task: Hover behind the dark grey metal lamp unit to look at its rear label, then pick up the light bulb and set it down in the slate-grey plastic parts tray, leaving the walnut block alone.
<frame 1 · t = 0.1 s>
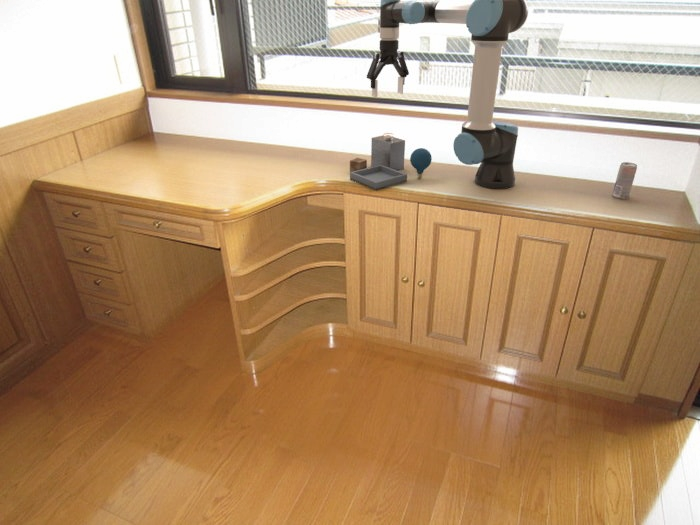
hand: (387, 95, 205), 28 cm above the table, fingers open, 13 cm apart
unit: (387, 167, 209), on the table
walnut block: (358, 171, 204), on the table
light bulb: (419, 178, 196), on the table
tray: (378, 180, 194), on the table
energy drink: (620, 197, 177), on the table
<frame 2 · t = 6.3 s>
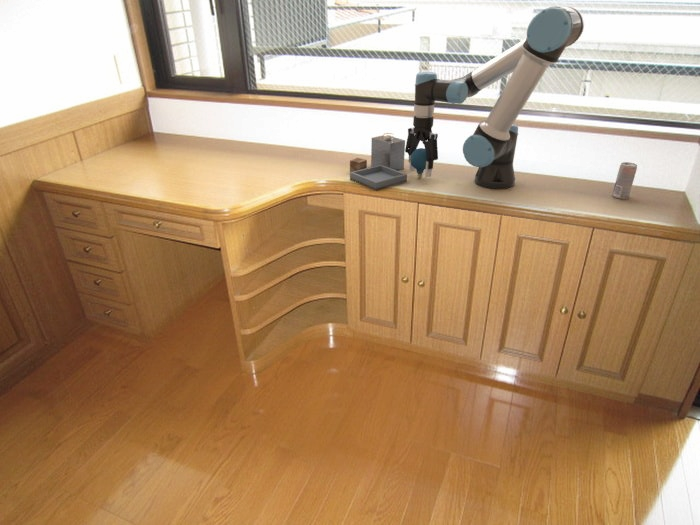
hand: (419, 173, 195), 2 cm above the table, fingers closed on light bulb, 8 cm apart
light bulb: (419, 178, 196), on the table, touching gripper
everything else where it was.
when the fingers open (5 cm above the table, at t = 11.4 s): light bulb drops 3 cm, resting on tray.
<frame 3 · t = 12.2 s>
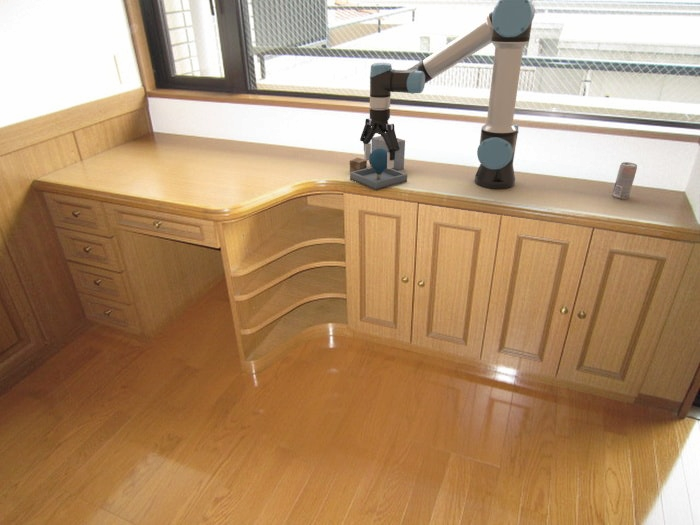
hand: (378, 164, 191), 7 cm above the table, fingers open, 13 cm apart
light bulb: (378, 179, 194), point 1 cm above the table, touching tray
everything else where it was.
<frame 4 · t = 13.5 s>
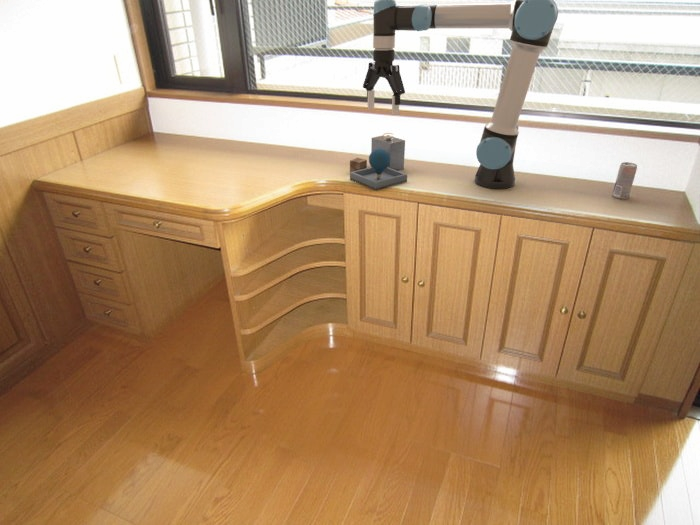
hand: (382, 111, 182), 27 cm above the table, fingers open, 13 cm apart
nothing on the table moved.
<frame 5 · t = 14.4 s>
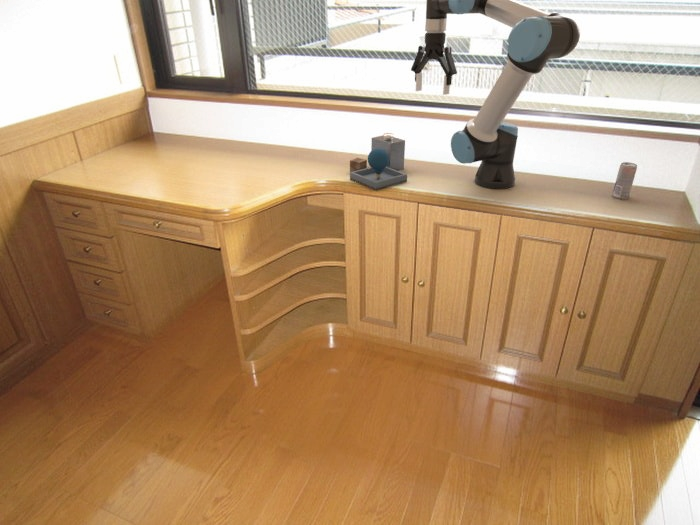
hand: (432, 92, 190), 31 cm above the table, fingers open, 13 cm apart
nothing on the table moved.
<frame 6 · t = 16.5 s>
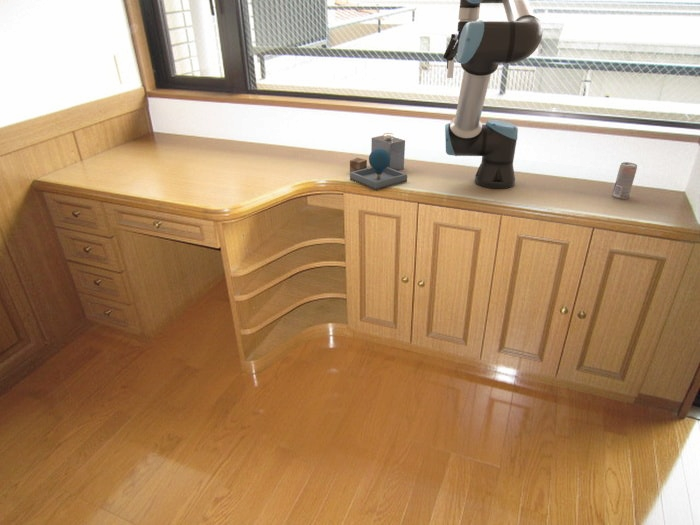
hand: (462, 79, 196), 35 cm above the table, fingers open, 13 cm apart
nothing on the table moved.
at the end: light bulb inside the target area on the tray (0.1 cm from its centre), point 0.6 cm above the tray's base; the gripper is holding nothing; walnut block moved 0.1 cm from its start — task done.
